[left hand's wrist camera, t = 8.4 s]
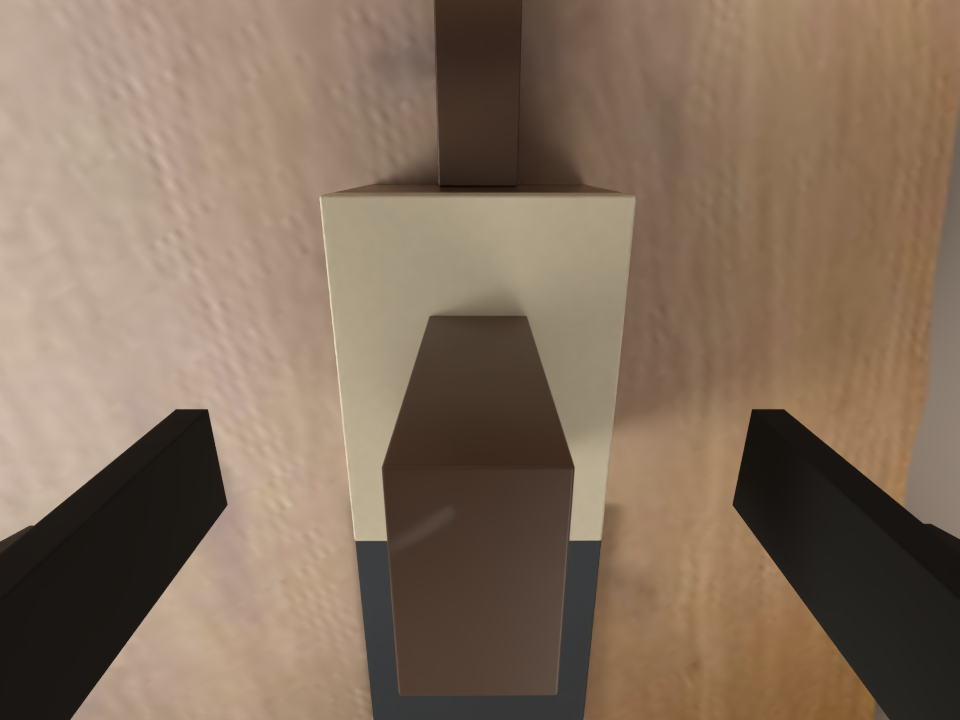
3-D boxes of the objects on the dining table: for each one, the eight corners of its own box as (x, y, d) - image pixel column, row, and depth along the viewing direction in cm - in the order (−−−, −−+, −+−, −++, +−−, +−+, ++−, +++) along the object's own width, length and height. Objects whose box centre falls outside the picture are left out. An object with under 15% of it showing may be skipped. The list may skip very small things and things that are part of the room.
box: (568, 439, 26) (599, 532, 20) (387, 439, 26) (356, 533, 19) (612, -193, 18) (692, -404, 11) (343, -194, 18) (263, -405, 11)
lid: (593, 515, 20) (691, 813, 11) (362, 515, 20) (264, 815, 11) (623, 192, 16) (822, 234, 7) (332, 192, 16) (131, 233, 7)
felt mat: (581, 719, 33) (582, 725, 33) (375, 719, 33) (374, 726, 33) (602, 506, 27) (604, 511, 27) (353, 507, 27) (352, 512, 27)
